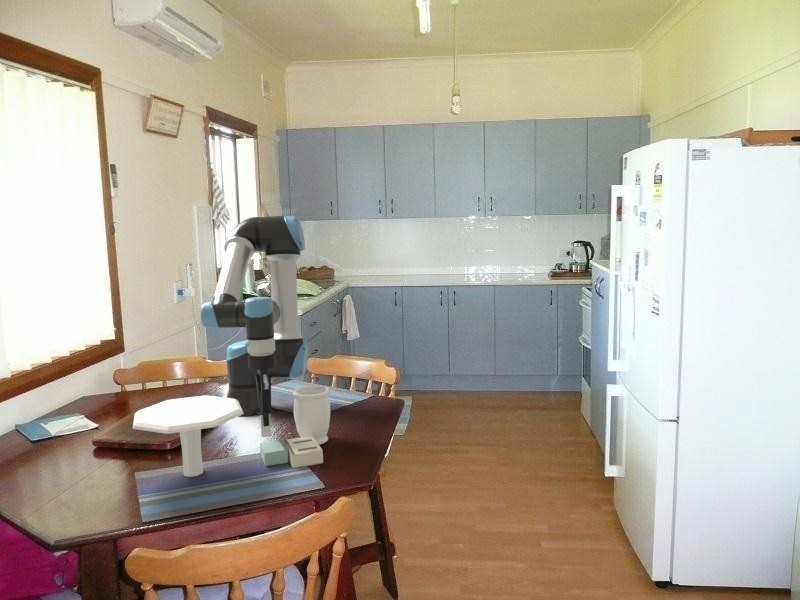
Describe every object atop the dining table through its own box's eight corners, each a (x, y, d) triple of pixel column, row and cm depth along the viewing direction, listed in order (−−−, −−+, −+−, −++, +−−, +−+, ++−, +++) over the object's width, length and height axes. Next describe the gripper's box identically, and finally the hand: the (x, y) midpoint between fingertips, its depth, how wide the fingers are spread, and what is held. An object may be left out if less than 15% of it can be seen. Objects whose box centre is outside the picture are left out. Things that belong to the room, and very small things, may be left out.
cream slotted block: (284, 452, 175) (283, 439, 174) (312, 447, 178) (312, 435, 177) (292, 468, 164) (292, 454, 163) (323, 462, 166) (322, 449, 166)
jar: (325, 448, 177) (322, 396, 175) (289, 447, 179) (286, 395, 177) (336, 435, 187) (334, 385, 185) (303, 434, 189) (300, 385, 187)
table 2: (161, 453, 177) (156, 395, 175) (261, 451, 176) (257, 392, 174) (113, 497, 149) (106, 429, 147) (231, 496, 148) (226, 427, 146)
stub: (260, 455, 173) (259, 442, 172) (282, 452, 175) (282, 439, 174) (265, 466, 165) (264, 452, 165) (288, 462, 167) (287, 449, 167)
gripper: (244, 350, 180) (249, 431, 183) (250, 359, 168) (256, 445, 171) (271, 347, 183) (275, 427, 186) (279, 356, 171) (283, 441, 173)
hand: (266, 435), depth 178 cm, fingers closed
